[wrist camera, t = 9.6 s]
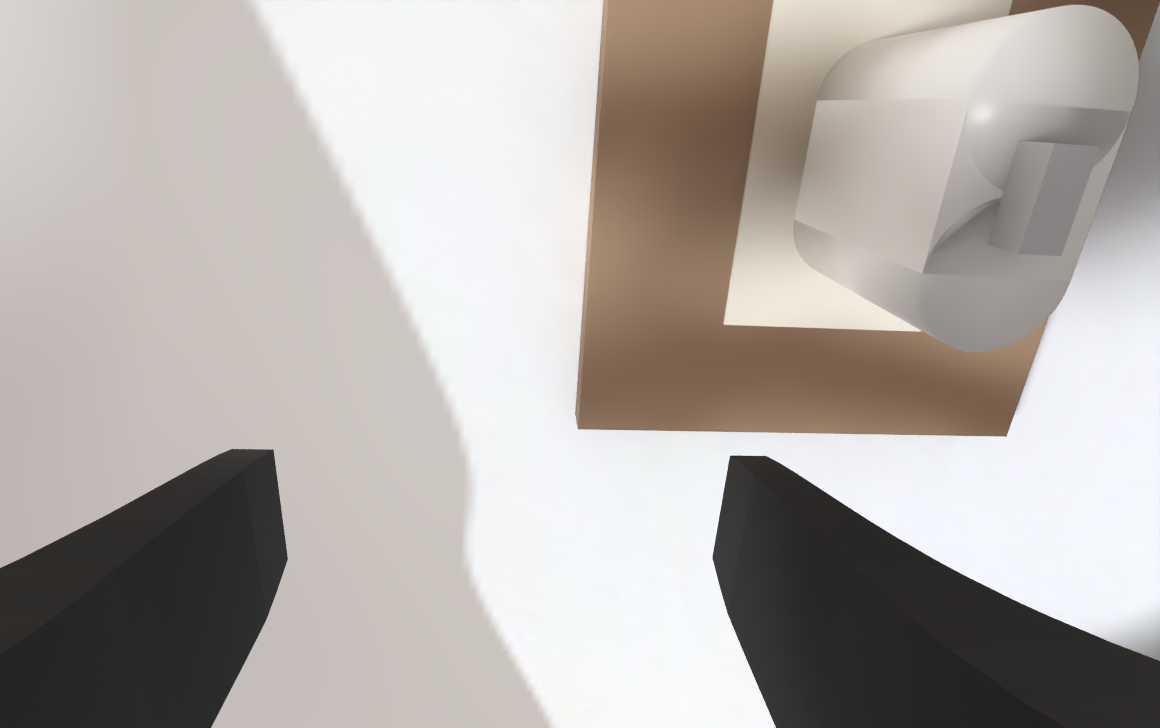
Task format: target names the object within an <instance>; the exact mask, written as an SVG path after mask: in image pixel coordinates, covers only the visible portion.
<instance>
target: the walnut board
mask: <svg viewBox="0 0 1160 728" xmlns="http://www.w3.org/2000/svg"><path fill="white" fill-rule="evenodd" d="M1159 2H1160V0H604V2H603V17H602V32H601V46H600V61H599V76H598V90H597V105H596V120H595V135H594V149H593V164H592V179H591V193H590V208H589V223H588V237H587V252H586V267H585V282H584V296H583V311H582V326H581V340H580V355H579V370H578V385H577V399H576V420H577V426H578V429H601V430H659V431H718V432H777V433H835V434H894V435H953V436H1007V433H1008V431H1009V428H1010V425H1011V422H1012V419H1013V416H1014V414H1015V411H1016V408H1017V405H1018V402H1019V399H1020V396H1021V394H1022V391H1023V388H1024V385H1025V382H1026V379H1027V377H1028V374H1029V371H1030V368H1031V365H1032V362H1033V360H1034V357H1035V354H1036V351H1037V348H1038V345H1039V343H1040V340H1041V337H1042V334H1043V331H1044V328H1045V326H1046V323H1047V320H1048V318H1047V319H1046V320H1045V321H1044V322H1043V323H1042V324H1041V325H1040V326H1039V327H1037V328H1036V329H1035V330H1034V331H1033V332H1031V333H1030V334H1028V335H1027V336H1025V337H1024V338H1022V339H1020V340H1019V341H1017V342H1015V343H1013V344H1010V345H1008V346H1005V347H1003V348H999V349H996V350H992V351H985V352H968V351H962V350H958V349H955V348H952V347H950V346H948V345H946V344H944V343H942V342H941V341H939V340H937V339H935V338H933V337H932V336H930V335H928V334H926V333H925V332H923V331H921V330H919V329H918V328H916V327H914V326H912V325H910V324H909V323H907V322H905V321H903V320H902V319H900V318H898V317H896V316H895V315H893V314H891V313H889V312H887V311H886V310H884V309H882V308H880V307H879V306H877V305H875V304H873V303H872V302H870V301H868V300H866V299H865V298H863V297H861V296H859V295H857V294H856V293H854V292H852V291H850V290H849V289H847V288H845V287H843V286H842V285H840V284H838V283H836V282H834V281H833V280H831V279H829V278H827V277H826V276H824V275H822V274H820V273H819V272H817V271H815V270H814V269H812V268H810V267H809V266H808V265H807V264H806V263H805V262H804V261H803V260H802V258H801V257H800V255H799V253H798V251H797V249H796V246H795V242H794V236H793V225H794V218H795V213H796V208H797V203H798V197H799V192H800V187H801V182H802V176H803V171H804V166H805V161H806V156H807V150H808V145H809V140H810V135H811V129H812V124H813V119H814V114H815V109H816V103H817V99H818V95H819V91H820V89H821V86H822V83H823V81H824V79H825V77H826V76H827V74H828V72H829V71H830V69H831V68H832V67H833V66H834V64H835V63H836V62H837V61H838V60H839V59H840V58H841V57H842V56H843V55H844V54H846V53H847V52H848V51H850V50H851V49H853V48H855V47H856V46H858V45H861V44H863V43H866V42H869V41H873V40H879V39H884V38H890V37H895V36H901V35H906V34H912V33H917V32H923V31H928V30H934V29H939V28H945V27H950V26H956V25H961V24H967V23H972V22H978V21H983V20H989V19H994V18H1000V17H1005V16H1011V15H1016V14H1022V13H1027V12H1033V11H1038V10H1044V9H1049V8H1055V7H1060V6H1067V5H1087V6H1093V7H1097V8H1099V9H1102V10H1104V11H1106V12H1108V13H1110V14H1111V15H1113V16H1114V17H1115V18H1117V19H1118V20H1119V21H1120V22H1121V23H1122V24H1123V26H1124V27H1125V28H1126V29H1127V31H1128V32H1129V34H1130V36H1131V38H1132V40H1133V42H1134V45H1135V48H1136V51H1137V56H1138V62H1139V59H1140V56H1141V53H1142V50H1143V48H1144V45H1145V42H1146V39H1147V36H1148V33H1149V31H1150V28H1151V25H1152V22H1153V19H1154V16H1155V14H1156V11H1157V8H1158V5H1159Z"/></svg>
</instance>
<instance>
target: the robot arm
mask: <svg viewBox="0 0 1160 728" xmlns="http://www.w3.org/2000/svg"><path fill="white" fill-rule="evenodd" d="M287 559H288V558H287V550H286V543H285V535H284V527H283V520H282V513H281V504H280V497H279V490H278V481H277V474H276V466H275V459H274V451H273V450H253V449H231V450H229V451H226V452H224V453H222V454H219V455H217V456H215V457H213V458H211V459H209V460H207V461H205V462H203V463H201V464H199V465H198V466H196V467H194V468H192V469H190V470H188V471H186V472H185V473H183V474H181V475H179V476H177V477H175V478H174V479H172V480H170V481H168V482H166V483H165V484H163V485H161V486H159V487H157V488H155V489H154V490H152V491H150V492H148V493H146V494H144V495H143V496H141V497H139V498H137V499H135V500H134V501H132V502H130V503H128V504H126V505H124V506H122V507H121V508H119V509H117V510H115V511H113V512H111V513H110V514H108V515H106V516H104V517H102V518H100V519H98V520H96V521H94V522H92V523H90V524H89V525H86V526H84V527H82V528H81V529H78V530H77V531H74V532H73V533H71V534H69V535H67V536H65V537H63V538H61V539H59V540H57V541H55V542H53V543H51V544H49V545H47V546H45V547H43V548H41V549H39V550H37V551H35V552H33V553H31V554H29V555H27V556H25V557H23V558H21V559H19V560H17V561H15V562H13V563H11V564H8V565H6V566H4V567H2V568H0V728H211V726H212V725H213V723H214V721H215V719H216V717H217V715H218V713H219V711H220V709H221V707H222V705H223V703H224V701H225V699H226V698H227V696H228V694H229V692H230V690H231V688H232V686H233V684H234V682H235V680H236V678H237V676H238V674H239V672H240V671H241V669H242V667H243V664H244V663H245V661H246V659H247V657H248V655H249V653H250V651H251V649H252V647H253V645H254V643H255V641H256V639H257V637H258V635H259V633H260V631H261V629H262V627H263V625H264V623H265V621H266V619H267V616H268V614H269V611H270V608H271V606H272V603H273V600H274V598H275V595H276V592H277V589H278V586H279V583H280V580H281V577H282V574H283V571H284V568H285V566H286V563H287ZM713 561H714V565H715V569H716V573H717V577H718V581H719V585H720V588H721V592H722V595H723V599H724V602H725V606H726V609H727V613H728V615H729V618H730V620H731V623H732V625H733V627H734V630H735V632H736V635H737V637H738V639H739V642H740V644H741V647H742V649H743V651H744V654H745V656H746V659H747V661H748V663H749V666H750V668H751V670H752V673H753V675H754V677H755V680H756V682H757V684H758V687H759V689H760V691H761V694H762V696H763V698H764V701H765V703H766V705H767V708H768V710H769V712H770V715H771V717H772V719H773V722H774V724H775V725H774V728H1160V661H1158V660H1155V659H1153V658H1150V657H1147V656H1145V655H1142V654H1140V653H1137V652H1134V651H1132V650H1129V649H1127V648H1124V647H1121V646H1119V645H1116V644H1114V643H1111V642H1109V641H1106V640H1104V639H1102V638H1099V637H1097V636H1095V635H1092V634H1090V633H1087V632H1085V631H1083V630H1080V629H1078V628H1076V627H1073V626H1071V625H1069V624H1066V623H1064V622H1061V621H1059V620H1057V619H1054V618H1052V617H1050V616H1047V615H1045V614H1043V613H1041V612H1038V611H1036V610H1034V609H1032V608H1030V607H1028V606H1025V605H1023V604H1021V603H1019V602H1017V601H1015V600H1012V599H1010V598H1008V597H1006V596H1004V595H1002V594H1000V593H998V592H996V591H994V590H992V589H990V588H988V587H986V586H984V585H982V584H980V583H978V582H976V581H974V580H972V579H970V578H968V577H966V576H964V575H962V574H960V573H958V572H957V571H955V570H953V569H951V568H949V567H947V566H945V565H944V564H942V563H940V562H938V561H936V560H934V559H933V558H931V557H929V556H928V555H926V554H924V553H922V552H921V551H919V550H917V549H915V548H914V547H912V546H910V545H909V544H907V543H905V542H903V541H902V540H900V539H898V538H896V537H895V536H893V535H892V534H890V533H888V532H887V531H885V530H883V529H882V528H880V527H878V526H877V525H875V524H874V523H872V522H870V521H869V520H867V519H866V518H864V517H862V516H861V515H859V514H858V513H856V512H855V511H853V510H852V509H850V508H848V507H847V506H845V505H844V504H842V503H841V502H839V501H838V500H836V499H835V498H833V497H832V496H830V495H828V494H827V493H825V492H824V491H822V490H821V489H819V488H818V487H816V486H815V485H813V484H812V483H810V482H809V481H807V480H806V479H804V478H802V477H801V476H799V475H798V474H796V473H795V472H793V471H791V470H790V469H788V468H787V467H785V466H783V465H782V464H780V463H778V462H776V461H775V460H773V459H771V458H769V457H767V456H730V459H729V465H728V471H727V477H726V482H725V488H724V494H723V500H722V506H721V511H720V517H719V523H718V529H717V534H716V540H715V546H714V552H713Z"/></svg>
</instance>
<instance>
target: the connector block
mask: <svg viewBox="0 0 1160 728" xmlns="http://www.w3.org/2000/svg"><path fill="white" fill-rule="evenodd" d="M1138 83H1139V62H1138V56H1137V51H1136V48H1135V45H1134V42H1133V40H1132V38H1131V36H1130V34H1129V32H1128V31H1127V29H1126V28H1125V27H1124V26H1123V24H1122V23H1121V22H1120V21H1119V20H1118V19H1117V18H1115V17H1114V16H1113V15H1111V14H1110V13H1108V12H1106V11H1104V10H1102V9H1099V8H1097V7H1093V6H1087V5H1067V6H1060V7H1055V8H1049V9H1044V10H1038V11H1033V12H1027V13H1022V14H1016V15H1011V16H1005V17H1000V18H994V19H989V20H983V21H978V22H972V23H967V24H961V25H956V26H950V27H945V28H939V29H934V30H928V31H923V32H917V33H912V34H906V35H901V36H895V37H890V38H884V39H879V40H873V41H869V42H866V43H863V44H861V45H858V46H856V47H855V48H853V49H851V50H850V51H848V52H847V53H846V54H844V55H843V56H842V57H841V58H840V59H839V60H838V61H837V62H836V63H835V64H834V66H833V67H832V68H831V69H830V71H829V72H828V74H827V76H826V77H825V79H824V81H823V83H822V86H821V89H820V91H819V95H818V99H817V103H816V109H815V114H814V119H813V124H812V129H811V135H810V140H809V145H808V150H807V156H806V161H805V166H804V171H803V176H802V182H801V187H800V192H799V197H798V203H797V208H796V213H795V218H794V225H793V236H794V242H795V246H796V249H797V251H798V253H799V255H800V257H801V258H802V260H803V261H804V262H805V263H806V264H807V265H808V266H809V267H810V268H812V269H814V270H815V271H817V272H819V273H820V274H822V275H824V276H826V277H827V278H829V279H831V280H833V281H834V282H836V283H838V284H840V285H842V286H843V287H845V288H847V289H849V290H850V291H852V292H854V293H856V294H857V295H859V296H861V297H863V298H865V299H866V300H868V301H870V302H872V303H873V304H875V305H877V306H879V307H880V308H882V309H884V310H886V311H887V312H889V313H891V314H893V315H895V316H896V317H898V318H900V319H902V320H903V321H905V322H907V323H909V324H910V325H912V326H914V327H916V328H918V329H919V330H921V331H923V332H925V333H926V334H928V335H930V336H932V337H933V338H935V339H937V340H939V341H941V342H942V343H944V344H946V345H948V346H950V347H952V348H955V349H958V350H962V351H968V352H985V351H992V350H996V349H999V348H1003V347H1005V346H1008V345H1010V344H1013V343H1015V342H1017V341H1019V340H1020V339H1022V338H1024V337H1025V336H1027V335H1028V334H1030V333H1031V332H1033V331H1034V330H1035V329H1036V328H1037V327H1039V326H1040V325H1041V324H1042V323H1043V322H1044V321H1045V320H1046V319H1047V318H1048V317H1049V316H1050V315H1051V313H1052V312H1053V311H1054V310H1055V308H1056V307H1057V305H1058V304H1059V303H1060V301H1061V300H1062V298H1063V296H1064V294H1065V292H1066V290H1067V288H1068V286H1069V283H1070V281H1071V278H1072V275H1073V273H1074V270H1075V267H1076V264H1077V262H1078V259H1079V256H1080V253H1081V251H1082V248H1083V245H1084V242H1085V240H1086V237H1087V234H1088V231H1089V229H1090V226H1091V223H1092V220H1093V218H1094V215H1095V212H1096V209H1097V207H1098V204H1099V201H1100V198H1101V196H1102V193H1103V190H1104V187H1105V185H1106V182H1107V179H1108V176H1109V174H1110V171H1111V168H1112V165H1113V163H1114V160H1115V157H1116V154H1117V152H1118V149H1119V146H1120V143H1121V141H1122V138H1123V135H1124V132H1125V130H1126V127H1127V124H1128V121H1129V119H1130V116H1131V113H1132V110H1133V107H1134V104H1135V100H1136V96H1137V91H1138Z"/></svg>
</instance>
